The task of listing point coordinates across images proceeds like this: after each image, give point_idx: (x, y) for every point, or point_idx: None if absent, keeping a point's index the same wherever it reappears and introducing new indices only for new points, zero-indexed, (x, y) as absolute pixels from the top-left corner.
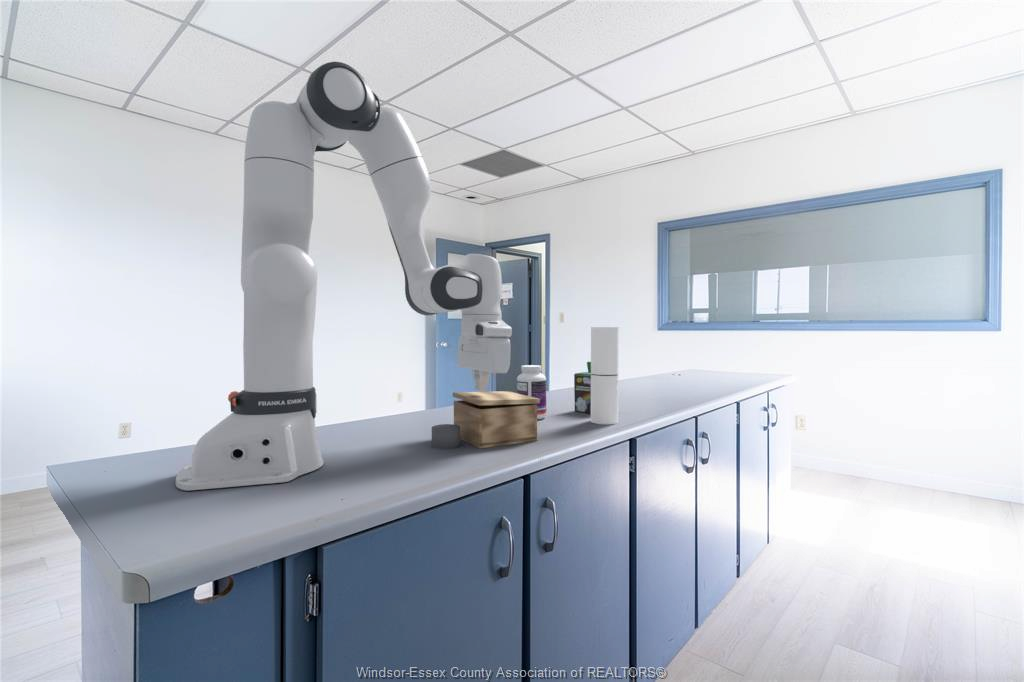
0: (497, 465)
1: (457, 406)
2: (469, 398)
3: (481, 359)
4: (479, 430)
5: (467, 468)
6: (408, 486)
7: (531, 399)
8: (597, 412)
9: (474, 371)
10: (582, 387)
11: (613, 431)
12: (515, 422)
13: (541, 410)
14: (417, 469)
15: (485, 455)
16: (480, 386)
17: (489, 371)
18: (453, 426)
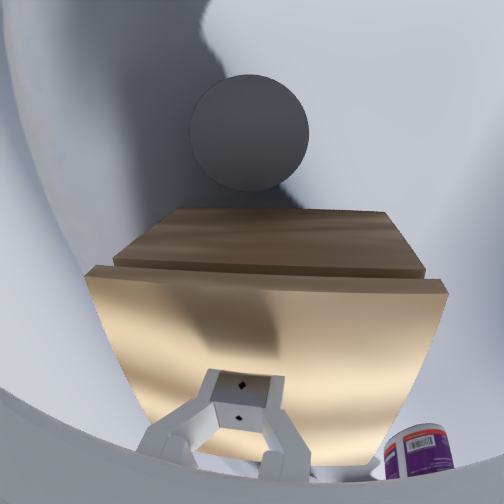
0: (49, 189)
1: (370, 257)
2: (191, 282)
3: (53, 490)
4: (151, 227)
5: (47, 127)
6: (19, 26)
7: None
8: None
9: (265, 469)
10: None
11: (223, 459)
12: None
13: (385, 460)
14: (75, 29)
15: (111, 195)
16: (202, 386)
17: (13, 398)
18: (243, 165)
